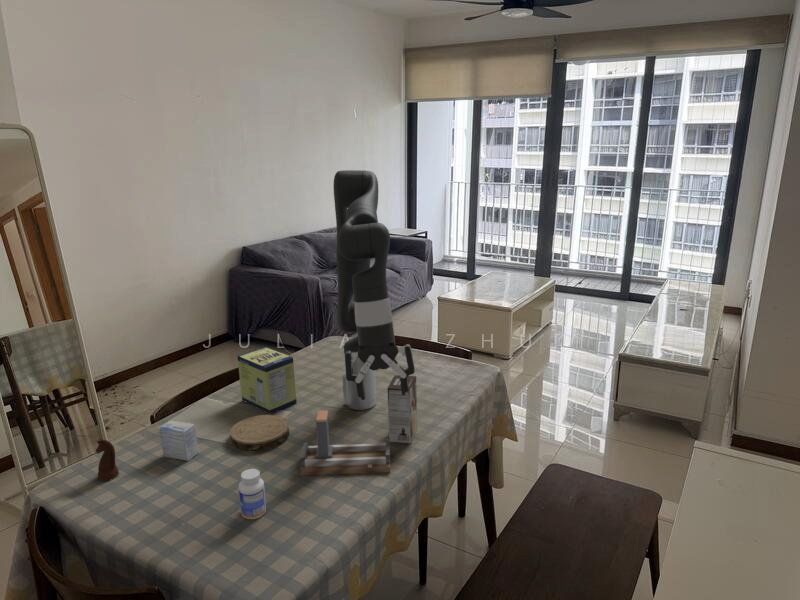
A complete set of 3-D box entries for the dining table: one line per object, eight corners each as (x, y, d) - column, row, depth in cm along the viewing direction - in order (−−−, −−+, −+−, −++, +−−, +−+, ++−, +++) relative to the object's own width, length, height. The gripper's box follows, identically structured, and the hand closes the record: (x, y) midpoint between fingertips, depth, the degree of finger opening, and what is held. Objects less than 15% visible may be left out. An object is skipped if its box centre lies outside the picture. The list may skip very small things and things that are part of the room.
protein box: (268, 390, 185) (264, 346, 181) (297, 403, 175) (294, 357, 171) (240, 400, 177) (236, 355, 173) (270, 415, 167) (265, 367, 163)
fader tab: (315, 462, 138) (312, 419, 135) (317, 452, 143) (315, 411, 140) (331, 462, 138) (329, 419, 135) (333, 452, 143) (331, 410, 140)
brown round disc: (234, 457, 145) (232, 447, 144) (228, 430, 159) (227, 421, 159) (294, 445, 151) (293, 435, 150) (284, 419, 165) (283, 410, 164)
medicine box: (199, 453, 147) (195, 423, 145) (187, 462, 143) (183, 431, 141) (174, 448, 150) (170, 419, 147) (163, 457, 146) (158, 427, 143)
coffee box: (395, 426, 159) (394, 374, 155) (417, 427, 158) (416, 375, 154) (388, 442, 151) (386, 387, 146) (411, 444, 149) (410, 389, 145)
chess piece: (106, 470, 140) (100, 434, 137) (124, 471, 139) (118, 435, 137) (93, 480, 136) (87, 444, 133) (112, 482, 135) (106, 445, 132)
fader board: (300, 475, 136) (299, 461, 135) (305, 453, 146) (304, 440, 145) (390, 472, 137) (390, 457, 136) (389, 450, 146) (389, 437, 145)
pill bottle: (243, 505, 125) (239, 467, 123) (268, 503, 125) (264, 465, 123) (239, 521, 120) (234, 481, 117) (264, 519, 120) (260, 479, 118)
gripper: (408, 314, 118) (417, 387, 120) (342, 321, 119) (352, 394, 121) (408, 320, 111) (417, 398, 113) (337, 328, 111) (348, 406, 113)
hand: (383, 396), depth 117 cm, fingers open, 8 cm apart
